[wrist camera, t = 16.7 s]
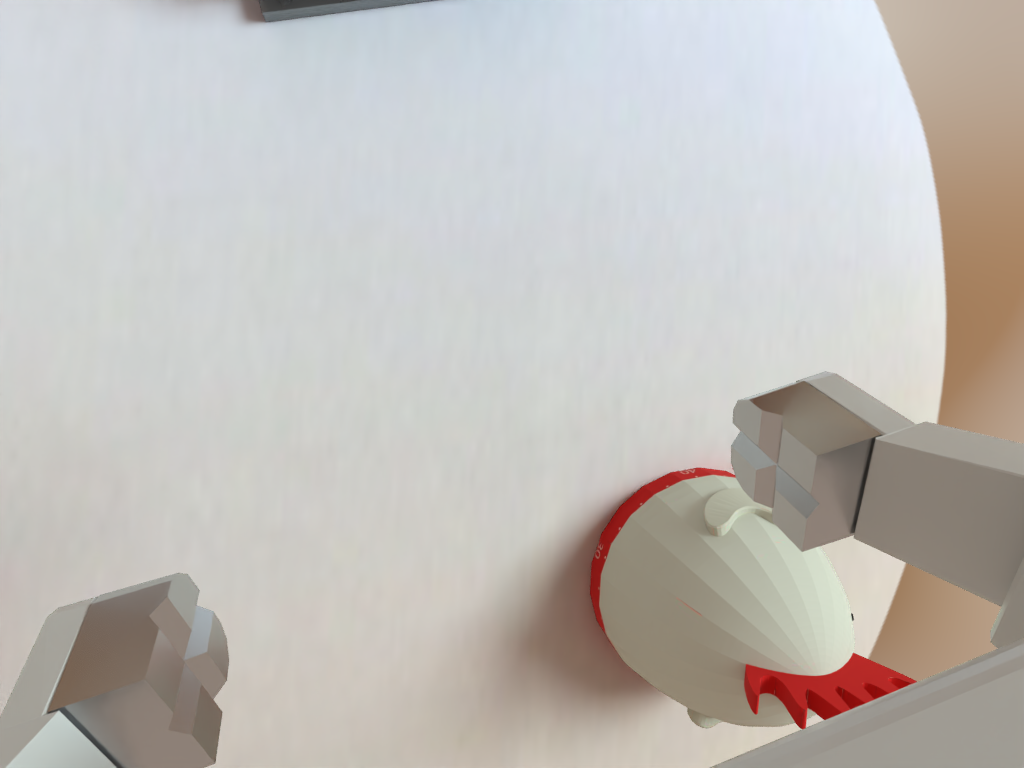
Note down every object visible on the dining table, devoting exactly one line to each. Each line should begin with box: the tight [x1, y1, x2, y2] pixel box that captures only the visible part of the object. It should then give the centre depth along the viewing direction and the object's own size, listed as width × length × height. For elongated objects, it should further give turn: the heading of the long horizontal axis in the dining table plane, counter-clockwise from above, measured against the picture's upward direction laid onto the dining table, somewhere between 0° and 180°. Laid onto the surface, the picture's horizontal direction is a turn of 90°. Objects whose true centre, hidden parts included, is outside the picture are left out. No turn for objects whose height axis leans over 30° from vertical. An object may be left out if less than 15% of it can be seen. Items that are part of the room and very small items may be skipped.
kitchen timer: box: [590, 468, 917, 729], centre depth 32 cm, size 14×14×15 cm
